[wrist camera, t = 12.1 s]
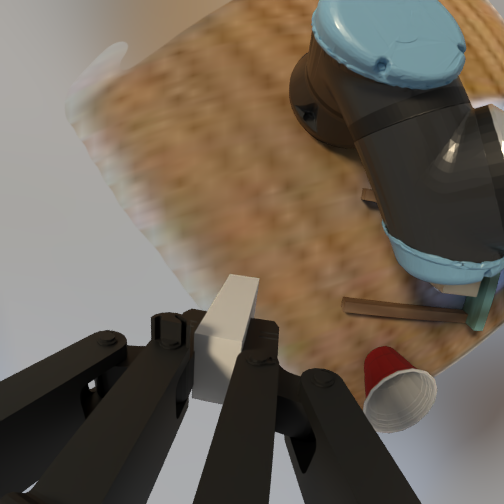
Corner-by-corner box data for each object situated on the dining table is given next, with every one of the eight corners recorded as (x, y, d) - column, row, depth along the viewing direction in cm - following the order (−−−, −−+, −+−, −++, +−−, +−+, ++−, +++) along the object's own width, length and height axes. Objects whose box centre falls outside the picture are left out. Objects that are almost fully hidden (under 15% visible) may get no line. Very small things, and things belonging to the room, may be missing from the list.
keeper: (439, 238, 39) (454, 244, 35) (472, 245, 38) (488, 251, 34) (429, 283, 41) (442, 292, 36) (462, 287, 40) (476, 297, 36)
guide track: (362, 188, 39) (373, 188, 34) (492, 219, 37) (510, 224, 32) (340, 306, 42) (347, 320, 38) (468, 318, 41) (482, 330, 36)
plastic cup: (408, 321, 42) (439, 360, 30) (411, 374, 44) (436, 417, 32) (343, 342, 44) (358, 388, 32) (353, 393, 45) (366, 442, 34)
